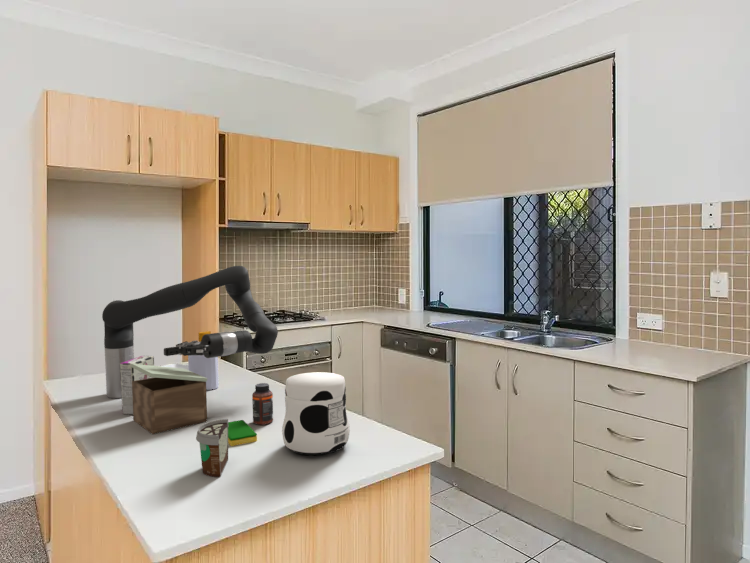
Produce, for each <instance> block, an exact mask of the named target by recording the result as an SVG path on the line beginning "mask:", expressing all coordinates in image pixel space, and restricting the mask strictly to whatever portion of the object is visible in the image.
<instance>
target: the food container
mask: <svg viewBox="0 0 750 563" xmlns="http://www.w3.org/2000/svg"><path fill="white" fill-rule="evenodd" d="M228 422H229V419H228V418H226V419H218V420H217V419H216V420H213V421H209V422H208V421H207V422H205V423H204V424H201V425H200V426H199V427H198V430H197V432H196V437H195V440H196V442H198V443H199V452H200V460H201V468H202V470H201V471H202V473H203V475H206V476H208V477H210V478H211V477H214V478H221V477H222V475H223V473H224V471H225V469H226V466H227V464H228V461H229V443H228V427H229V425H228Z"/></svg>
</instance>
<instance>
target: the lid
mask: <svg viewBox="0 0 750 563" xmlns="http://www.w3.org/2000/svg"><path fill="white" fill-rule="evenodd" d="M161 366H162V365H154V366H151V365H141V364H131V367H132V368H134V369H136V370H138V371H140V372H142V373H144V374H146V375H148V376H150V377H156V378H168V379H180V380H192V381H204V382H207V378H205V377H203V376H201V375H198V374H196V373H193V372H191V371H189V370H186V369H182V368H171V367H161Z"/></svg>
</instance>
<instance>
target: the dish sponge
mask: <svg viewBox="0 0 750 563" xmlns="http://www.w3.org/2000/svg"><path fill="white" fill-rule="evenodd" d="M228 425H229V427H228V446H230V447H234V446H238V445H245V444H249V443H253V442H254V443H255V442H257V441H258V434H257V433H256V432H255V430H254V429H253V428H252V427H251V426H250V425H249V424H248V423H247V422H246V421H245V420H243V419H239V420H233V421H228Z"/></svg>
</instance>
